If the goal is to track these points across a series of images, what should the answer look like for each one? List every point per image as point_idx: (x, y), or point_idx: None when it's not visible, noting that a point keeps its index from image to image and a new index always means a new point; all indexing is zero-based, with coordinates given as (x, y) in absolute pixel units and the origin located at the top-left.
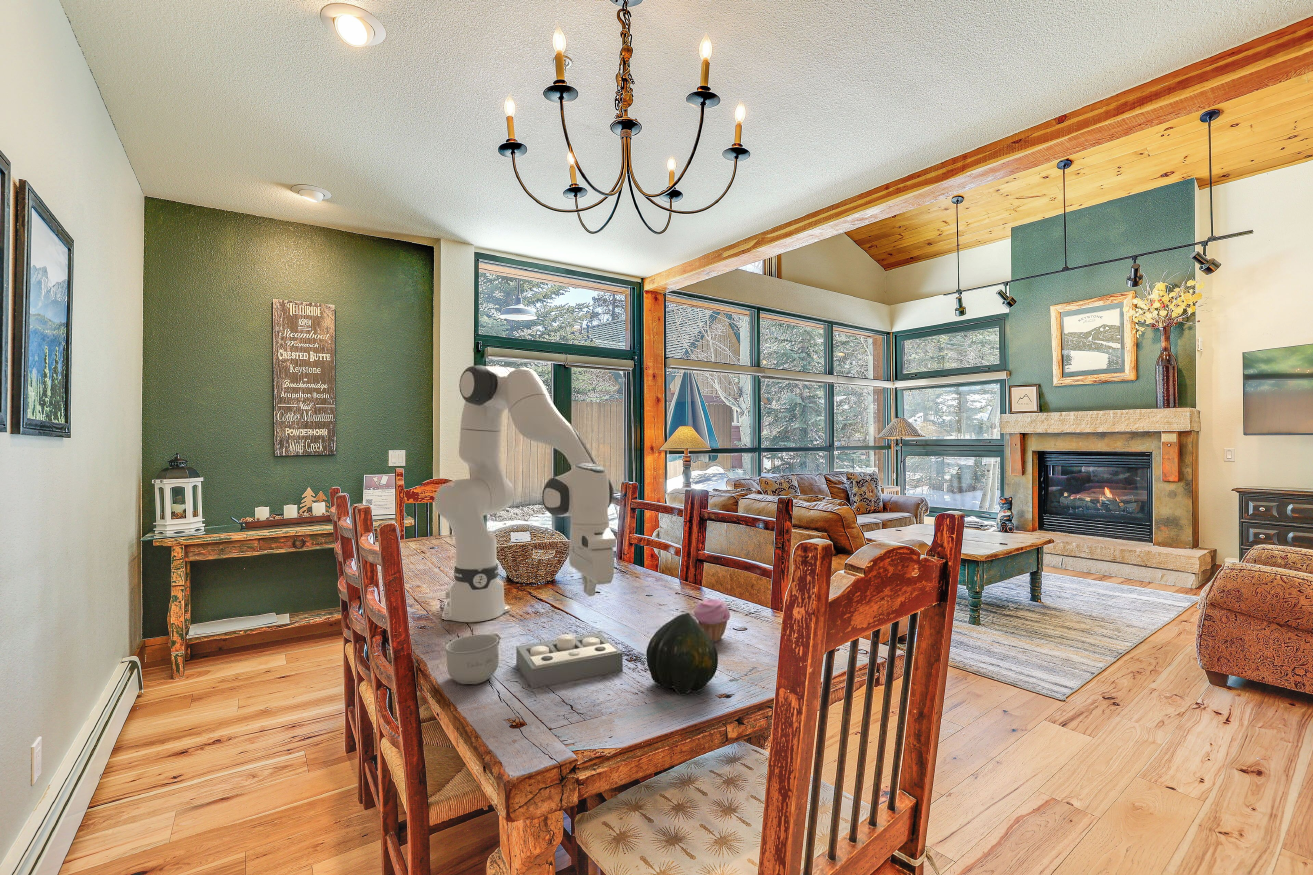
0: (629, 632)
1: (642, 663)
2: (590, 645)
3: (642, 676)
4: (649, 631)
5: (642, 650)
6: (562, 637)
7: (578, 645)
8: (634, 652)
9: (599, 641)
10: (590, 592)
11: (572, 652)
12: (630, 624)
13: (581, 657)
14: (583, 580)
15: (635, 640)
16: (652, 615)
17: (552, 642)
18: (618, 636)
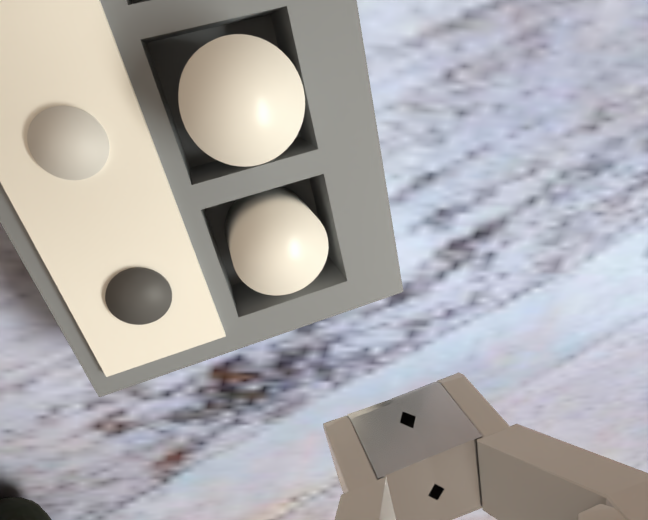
0: (501, 369)
1: (183, 414)
2: (231, 242)
3: (39, 416)
4: None
5: (316, 412)
6: (249, 78)
7: (238, 176)
8: (302, 386)
9: (260, 292)
10: (337, 469)
11: (82, 133)
12: (571, 372)
13: (6, 186)
14: (561, 478)
15: None
16: (613, 436)
17: (322, 13)
18: (478, 332)
